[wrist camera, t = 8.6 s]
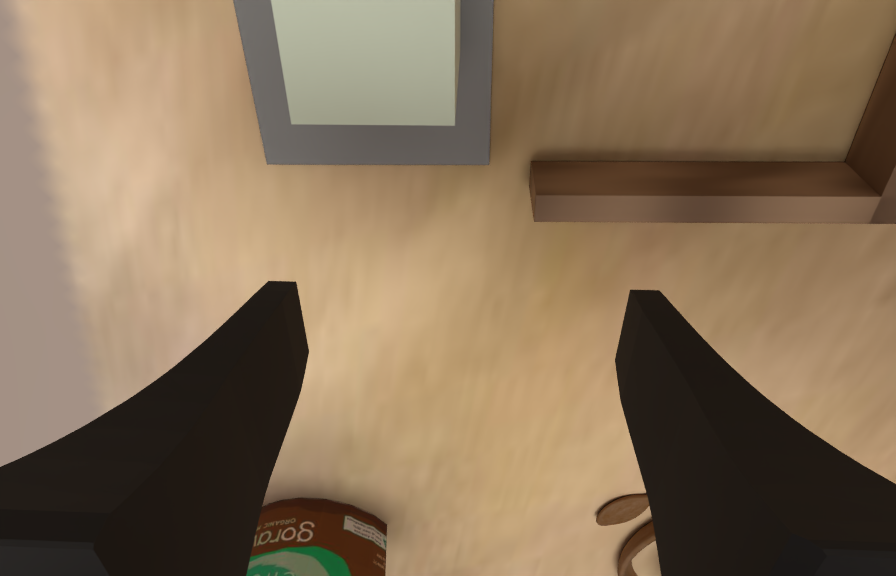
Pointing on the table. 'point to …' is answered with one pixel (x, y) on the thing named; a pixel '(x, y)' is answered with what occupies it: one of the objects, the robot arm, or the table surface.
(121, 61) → the table surface
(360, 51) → the sage block
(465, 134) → the mat
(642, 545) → the place setting
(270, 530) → the food container
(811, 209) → the open side box
